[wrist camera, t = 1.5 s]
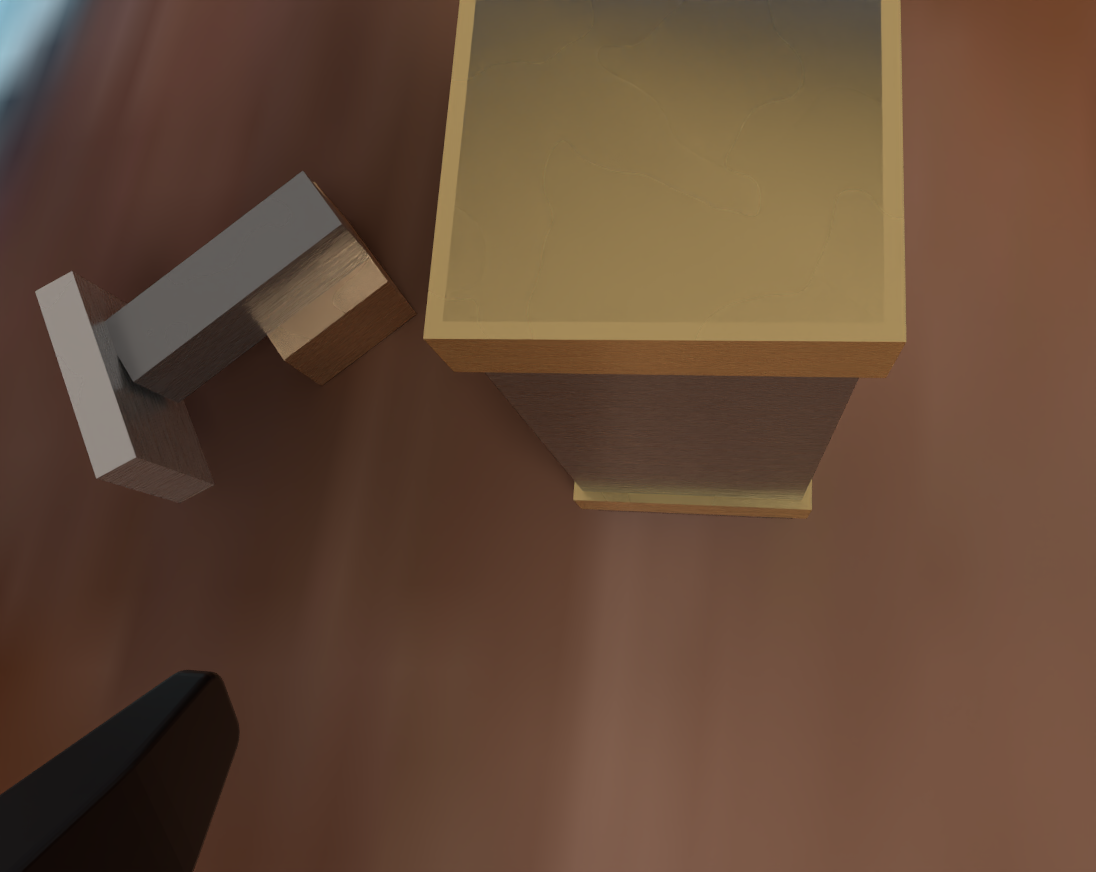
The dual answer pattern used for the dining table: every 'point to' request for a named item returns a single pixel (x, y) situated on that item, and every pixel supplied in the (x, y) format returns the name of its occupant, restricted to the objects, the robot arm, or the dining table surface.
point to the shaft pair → (215, 332)
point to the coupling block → (674, 236)
